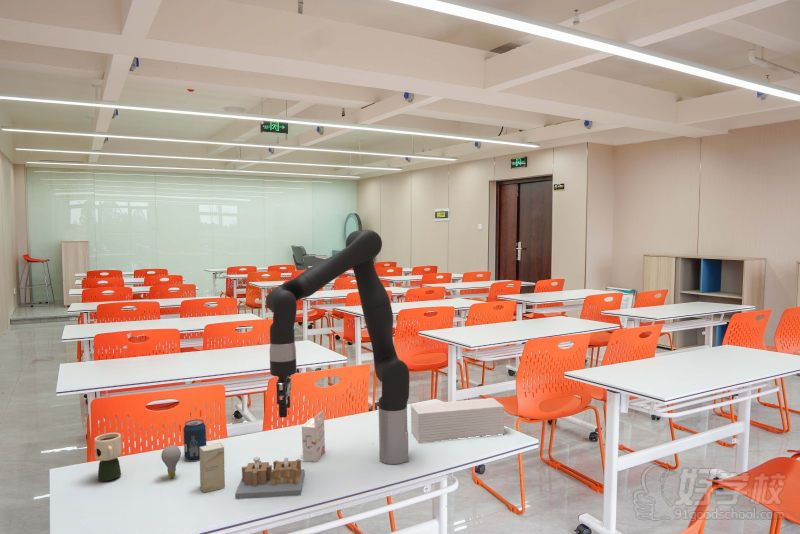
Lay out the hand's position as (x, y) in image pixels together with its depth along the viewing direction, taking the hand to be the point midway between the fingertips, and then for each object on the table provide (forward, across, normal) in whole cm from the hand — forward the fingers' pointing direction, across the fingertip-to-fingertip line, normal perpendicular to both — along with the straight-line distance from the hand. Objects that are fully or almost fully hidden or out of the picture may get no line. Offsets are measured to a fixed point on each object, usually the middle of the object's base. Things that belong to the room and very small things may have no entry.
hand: (284, 412), depth 163 cm
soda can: (+21, +23, +32) cm, 45 cm away
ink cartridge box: (+22, +19, -7) cm, 30 cm away
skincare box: (+22, 0, +21) cm, 30 cm away
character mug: (+21, +10, +54) cm, 59 cm away
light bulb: (+21, +8, +35) cm, 42 cm away
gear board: (+21, -1, +4) cm, 22 cm away
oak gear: (+20, 0, 0) cm, 20 cm away
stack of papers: (+22, +34, -58) cm, 70 cm away
